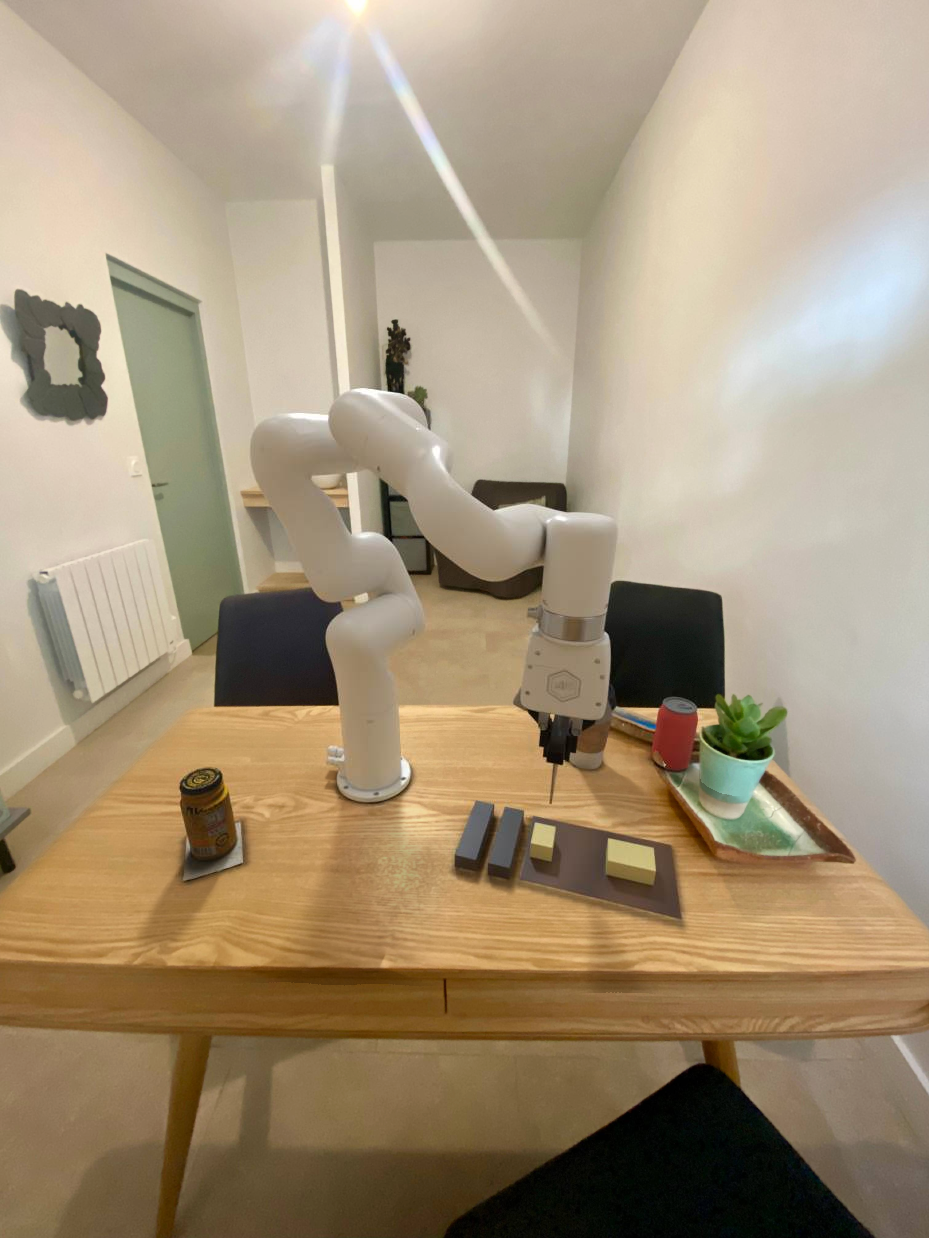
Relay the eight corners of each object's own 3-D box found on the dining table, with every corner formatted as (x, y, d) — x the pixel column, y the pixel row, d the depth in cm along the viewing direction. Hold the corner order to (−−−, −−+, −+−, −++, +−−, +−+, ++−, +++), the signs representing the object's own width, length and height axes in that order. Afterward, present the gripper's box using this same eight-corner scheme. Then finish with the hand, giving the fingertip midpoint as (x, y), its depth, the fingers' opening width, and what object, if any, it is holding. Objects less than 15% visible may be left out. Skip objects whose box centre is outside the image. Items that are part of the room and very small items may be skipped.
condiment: (240, 822, 74) (227, 757, 70) (243, 863, 67) (229, 793, 63) (186, 838, 71) (170, 771, 67) (183, 882, 64) (164, 810, 60)
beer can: (692, 775, 85) (704, 716, 81) (653, 770, 86) (663, 712, 82) (684, 752, 91) (695, 697, 87) (647, 748, 92) (657, 693, 88)
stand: (454, 871, 66) (454, 854, 65) (475, 815, 76) (475, 800, 75) (509, 885, 64) (510, 868, 63) (523, 825, 74) (524, 810, 73)
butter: (605, 874, 64) (607, 860, 63) (606, 851, 68) (608, 837, 67) (653, 885, 63) (656, 871, 62) (651, 861, 66) (653, 847, 66)
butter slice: (529, 856, 67) (530, 842, 66) (534, 835, 71) (535, 822, 70) (551, 861, 66) (552, 847, 65) (554, 840, 70) (555, 826, 69)
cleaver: (542, 802, 60) (547, 749, 57) (551, 754, 69) (556, 707, 66) (558, 805, 59) (564, 752, 56) (565, 757, 68) (570, 709, 65)
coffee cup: (614, 755, 90) (624, 684, 85) (600, 780, 84) (609, 705, 78) (571, 741, 95) (578, 672, 89) (554, 763, 88) (561, 691, 83)
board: (518, 884, 64) (519, 878, 64) (532, 820, 75) (532, 815, 74) (680, 925, 59) (681, 919, 58) (670, 849, 70) (671, 844, 69)
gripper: (498, 624, 55) (490, 758, 61) (645, 643, 51) (621, 784, 57) (510, 604, 61) (503, 726, 68) (642, 619, 57) (620, 748, 64)
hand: (557, 752), depth 62 cm, fingers closed on cleaver, 2 cm apart
